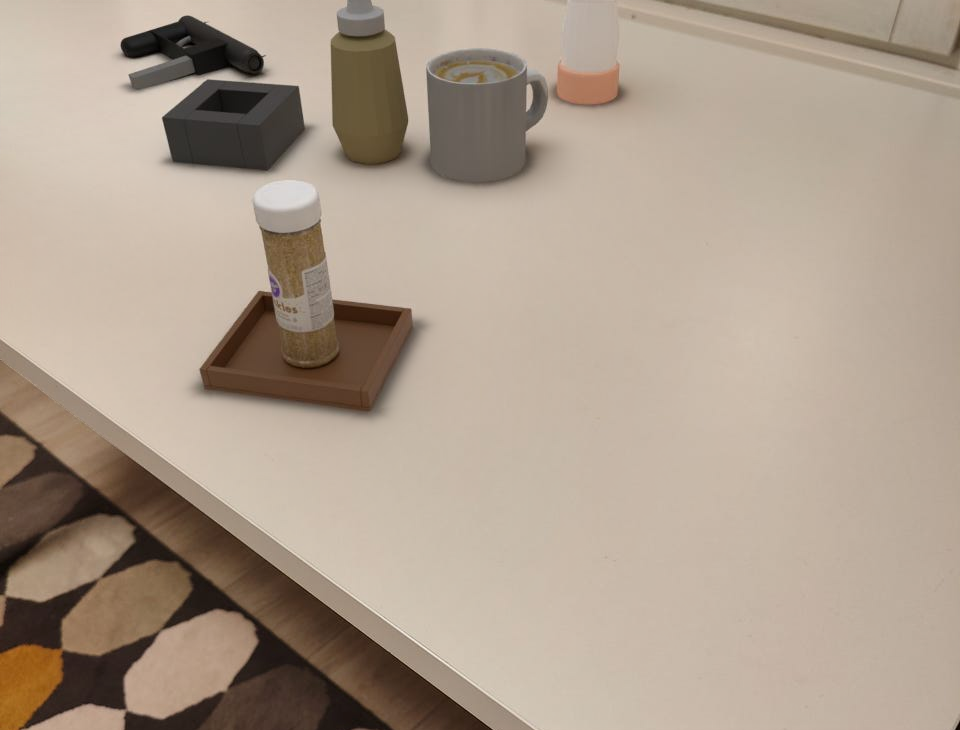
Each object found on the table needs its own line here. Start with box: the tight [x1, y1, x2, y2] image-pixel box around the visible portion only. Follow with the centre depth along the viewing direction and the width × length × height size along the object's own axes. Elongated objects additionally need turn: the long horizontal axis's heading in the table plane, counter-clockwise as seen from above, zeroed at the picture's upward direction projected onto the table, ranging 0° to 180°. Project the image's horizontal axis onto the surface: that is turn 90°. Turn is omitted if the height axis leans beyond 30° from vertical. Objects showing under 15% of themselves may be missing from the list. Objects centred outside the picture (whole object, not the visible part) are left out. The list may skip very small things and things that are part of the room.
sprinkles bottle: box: [252, 179, 339, 368], centre depth 69 cm, size 5×5×14 cm
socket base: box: [161, 78, 306, 171], centre depth 102 cm, size 11×11×5 cm
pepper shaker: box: [556, 0, 620, 106], centre depth 107 cm, size 7×7×19 cm
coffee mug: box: [425, 47, 549, 183], centre depth 97 cm, size 13×10×10 cm
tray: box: [199, 290, 414, 412], centre depth 74 cm, size 13×11×2 cm
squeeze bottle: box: [330, 0, 409, 165], centre depth 96 cm, size 8×8×18 cm
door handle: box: [120, 15, 267, 91], centre depth 122 cm, size 3×20×16 cm
